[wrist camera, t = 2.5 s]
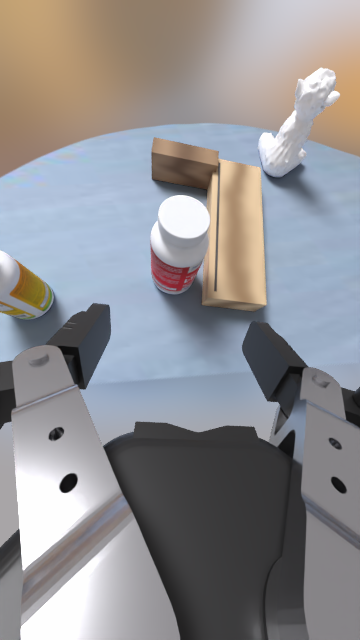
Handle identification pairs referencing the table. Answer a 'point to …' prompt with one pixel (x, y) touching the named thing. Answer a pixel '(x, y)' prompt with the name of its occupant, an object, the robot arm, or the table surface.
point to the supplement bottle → (22, 290)
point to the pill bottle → (178, 243)
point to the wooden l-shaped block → (222, 221)
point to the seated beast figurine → (297, 124)
